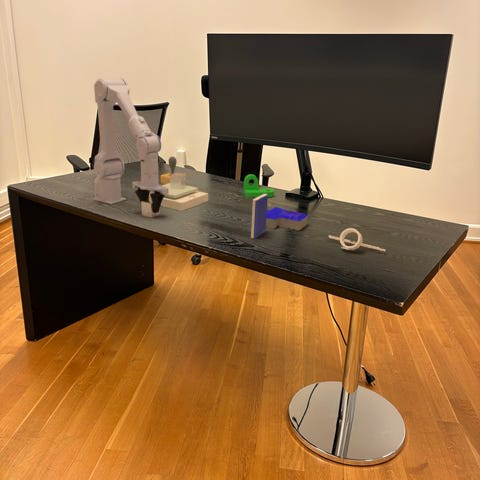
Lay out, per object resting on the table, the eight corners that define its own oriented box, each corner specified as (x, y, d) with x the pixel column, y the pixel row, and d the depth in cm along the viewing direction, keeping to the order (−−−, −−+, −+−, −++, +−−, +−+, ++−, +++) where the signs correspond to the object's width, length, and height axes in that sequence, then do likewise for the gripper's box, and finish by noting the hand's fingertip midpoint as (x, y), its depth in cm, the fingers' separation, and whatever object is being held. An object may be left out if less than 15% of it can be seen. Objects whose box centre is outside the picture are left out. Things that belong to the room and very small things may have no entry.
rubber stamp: (160, 183, 203) (159, 155, 198) (169, 181, 207) (169, 154, 203) (176, 187, 197) (176, 159, 193) (186, 185, 201) (186, 157, 197)
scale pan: (147, 192, 175) (147, 189, 175) (172, 184, 186) (172, 182, 186) (174, 198, 169) (174, 195, 168) (198, 190, 180) (198, 187, 179)
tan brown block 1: (141, 215, 161) (141, 201, 159) (150, 212, 165) (150, 198, 163) (151, 217, 159) (151, 203, 157) (160, 214, 163) (159, 200, 161)
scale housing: (144, 201, 176) (143, 192, 175) (171, 193, 189) (171, 184, 187) (181, 211, 167) (181, 201, 166) (208, 201, 180) (208, 192, 179)
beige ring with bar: (316, 241, 138) (322, 220, 138) (326, 248, 146) (332, 228, 147) (375, 256, 129) (382, 233, 129) (383, 263, 137) (389, 242, 138)
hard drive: (266, 231, 150) (268, 194, 146) (254, 239, 144) (257, 200, 139) (261, 230, 151) (264, 193, 147) (250, 238, 144) (252, 199, 140)
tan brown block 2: (170, 188, 178) (170, 175, 176) (175, 185, 182) (175, 172, 180) (181, 189, 176) (180, 176, 175) (186, 186, 180) (185, 173, 178)
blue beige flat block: (267, 217, 165) (268, 202, 163) (307, 225, 159) (309, 210, 157) (253, 226, 156) (254, 210, 154) (295, 234, 150) (297, 218, 148)
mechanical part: (246, 197, 188) (247, 177, 185) (243, 193, 193) (244, 174, 190) (275, 197, 190) (276, 177, 187) (272, 192, 195) (273, 174, 192)
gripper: (125, 171, 157) (127, 209, 162) (158, 177, 150) (159, 218, 155) (139, 167, 162) (141, 205, 167) (172, 173, 155) (172, 212, 160)
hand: (150, 211), depth 161 cm, fingers closed on tan brown block 1, 4 cm apart
